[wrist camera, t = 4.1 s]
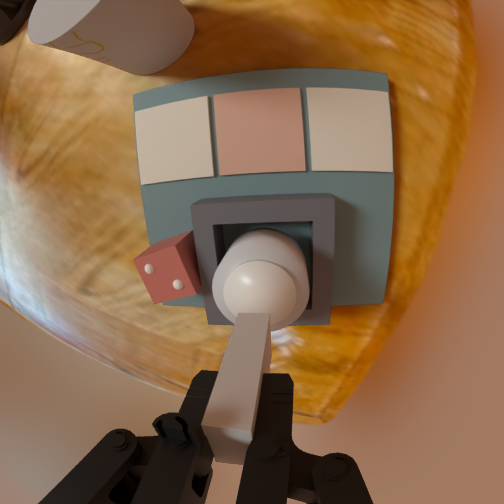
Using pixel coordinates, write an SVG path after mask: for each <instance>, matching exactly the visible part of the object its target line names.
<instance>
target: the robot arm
mask: <svg viewBox="0 0 504 504" xmlns="http://www.w3.org/2000/svg"><path fill="white" fill-rule="evenodd" d="M36 1H37V0H0V45H3V44H4V43H6V42H7V41H8V40H9V39H10V38H11V37H12V36H13V35H14V34H15V33H16V32H17V31H18V30H19V28H20V27H21V26H22V24H23V23H24V22H25V20H26V19H27V18H28V16H29V15H30V13H31V12H32V10H33V7H34V5H35V3H36ZM270 365H271V332H270V313H238V315H237V318H236V321H235V324H234V327H233V330H232V333H231V336H230V339H229V342H228V345H227V348H226V351H225V354H224V357H223V360H222V363H221V366H220V369H219V371H208V370H201V371H200V372H199V373H198V374H197V375H196V376H195V377H194V378H193V380H192V382H191V385H190V387H189V389H188V392H187V394H186V397H185V399H184V401H183V403H182V406H181V408H180V411H179V413H167V414H163V415H161V416H159V417H158V418H156V419H155V420H154V422H153V423H152V425H153V427H154V428H155V430H156V432H157V433H158V436H147V437H146V436H145V437H136V436H135V435H134V434H133V433H132V432H131V431H129V430H126V429H115V430H112V431H110V432H109V433H108V434H107V435H106V436H105V437H104V438H103V439H102V440H101V441H100V442H99V443H98V444H97V445H96V446H95V447H94V448H93V449H92V450H91V451H90V452H89V453H88V454H87V455H86V456H85V457H84V458H83V459H82V460H81V461H80V462H79V463H78V464H77V465H76V466H75V468H74V469H72V470H71V471H70V472H69V474H67V475H66V477H64V479H63V480H62V481H61V482H59V483H58V484H57V485H56V487H55V488H54V489H52V490H51V492H49V493H48V494H47V495H46V496H45V497H44V498H43V499H42V501H40V502H39V503H38V504H204V503H205V500H206V497H207V493H208V489H209V486H210V482H211V478H212V473H213V470H212V467H211V464H212V461H213V457H214V458H215V461H216V462H222V463H230V464H239V465H244V466H243V471H242V476H241V481H240V485H239V490H238V495H237V500H236V504H286V503H287V498H291V499H294V500H298V501H302V502H305V503H306V504H373V502H372V500H371V497H370V495H369V492H368V490H367V487H366V485H365V482H364V480H363V478H362V475H361V473H360V470H359V468H358V466H357V464H356V462H355V461H354V459H353V458H352V457H350V456H348V455H346V454H343V453H330V454H327V455H325V456H323V457H321V456H317V455H313V454H309V453H306V452H303V451H302V450H300V449H299V448H297V446H296V445H295V444H294V442H293V440H292V415H293V387H294V383H293V381H292V379H291V377H290V375H289V374H280V373H270Z"/></svg>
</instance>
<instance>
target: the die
mask: <svg viewBox="0 0 504 504" xmlns="http://www.w3.org/2000/svg"><path fill="white" fill-rule="evenodd" d="M133 261H134V263H135V265H136V268H137V270H138V272H139V274H140V276H141V278H142V280H143V282H144V284H145V286H146V288H147V290H148V292H149V294H150V296H151V298H152V300H153V302H154V304H157V303H161V302H165V301H170V300H174V299H178V298H183V297H187V296H191V295H195V294H197V293H198V291H199V289H200V288H201V286H202V285H201V279H200V273H199V267H198V260H197V254H196V247H195V240H194V233H193V230H191V231H188V232H185V233H182V234H179V235H176V236H173V237H171V238H168V239H165V240H162V241H159V242H157V243H154V244H153V245H152V246H150V247H149V248H148V249H146V250H145V251H144V252H142V253H141V254H140V255H139V256H137V257H136V258H135V259H133Z"/></svg>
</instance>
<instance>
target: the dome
mask: <svg viewBox="0 0 504 504" xmlns="http://www.w3.org/2000/svg"><path fill="white" fill-rule="evenodd" d="M212 291H213V297H214V300H215V303H216V305H217V307H218V308H219V310H220V311H221V313H222V314H223V315H224V316H225V317H226V318H227V319H228V320H230V321H231V322H232V323H234V324H235V321H236V318H237V315H238V313H270V331H276V330H279V329H282V328H284V327H287V326H288V325H290V324H292V323H293V322H294V321H296V320H297V319H298V318H299V317H300V315H301V314H302V313H303V311H304V310H305V308H306V305H307V303H308V299H309V282H308V275H307V268H306V261H305V256H304V253H303V251H302V249H301V247H300V246H299V244H298V243H297V242H296V241H295V240H294V239H293V238H292V237H291V236H290V235H288V234H286V233H285V232H282V231H280V230H277V229H273V228H256V229H252V230H249V231H247V232H245V233H243V234H241V235H240V236H239V237H238V238H237V239H235V240H234V242H233V243H232V244H231V246H230V248H229V249H228V251H227V253H226V254H225V256H224V258H223V259H222V261H221V263H220V264H219V266H218V268H217V270H216V272H215V274H214V277H213V282H212Z"/></svg>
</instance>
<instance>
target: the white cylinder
mask: <svg viewBox="0 0 504 504" xmlns="http://www.w3.org/2000/svg"><path fill="white" fill-rule="evenodd" d="M194 28H195V25H194V20H193V17H192V15H191V14H190V12H189V11H188V10H187V9H186V8H185V6H184V5H183V4H182V3H181V2H180V1H179V0H37V1H36V3H35V5H34V7H33V10H32V12H31V15H30V18H29V22H28V36H29V38H30V40H31V41H32V42H33V43H35V44H39V45H44V46H48V47H52V48H56V49H59V50H63V51H67V52H70V53H74V54H77V55H80V56H83V57H86V58H90V59H93V60H96V61H99V62H102V63H104V64H107V65H110V66H113V67H115V68H118V69H121V70H123V71H126V72H129V73H131V74H135V75H148V74H153V73H156V72H158V71H161V70H163V69H165V68H166V67H168V66H170V65H171V64H172V63H174V62H175V61H176V60H177V59H178V58H179V57H180V56H181V55H182V54H183V53H184V52H185V51H186V49H187V48H188V46H189V44H190V42H191V40H192V38H193V35H194Z"/></svg>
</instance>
